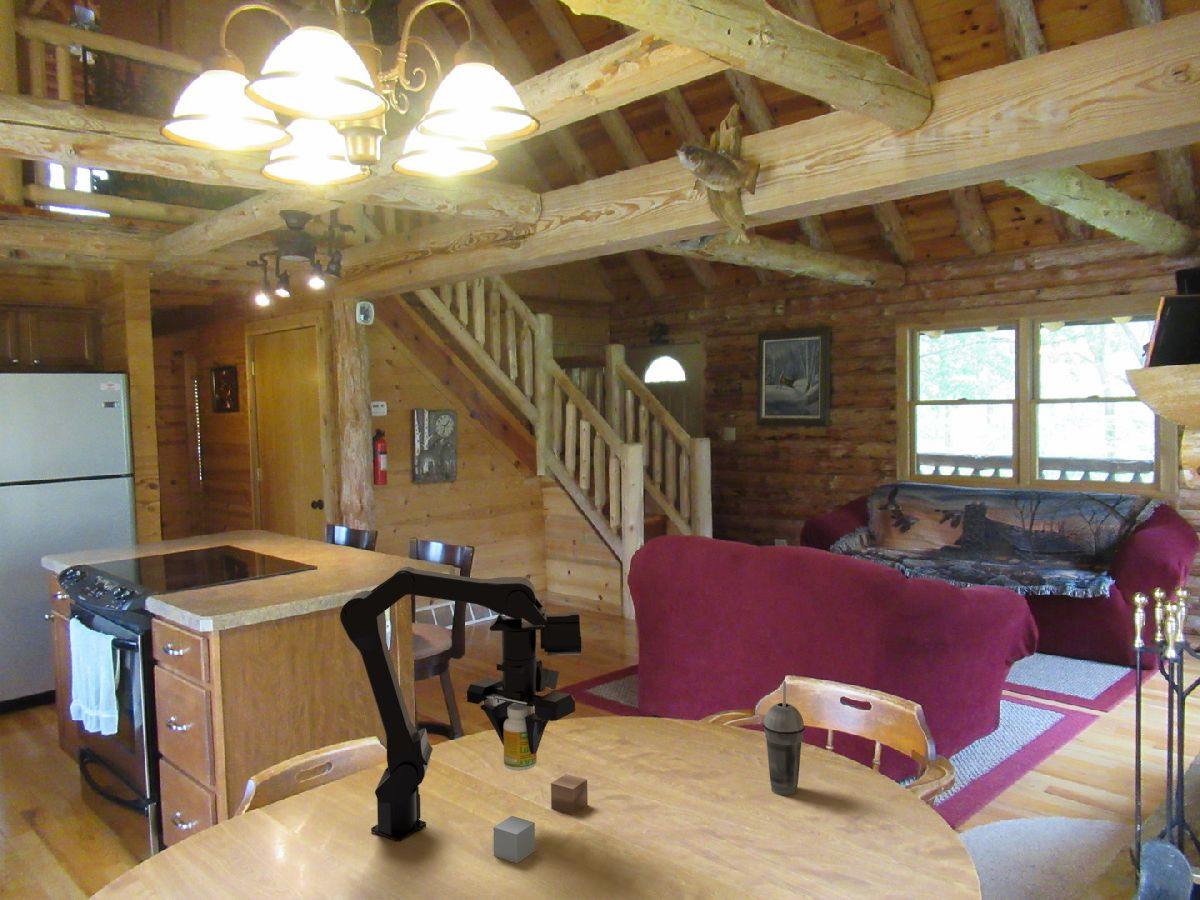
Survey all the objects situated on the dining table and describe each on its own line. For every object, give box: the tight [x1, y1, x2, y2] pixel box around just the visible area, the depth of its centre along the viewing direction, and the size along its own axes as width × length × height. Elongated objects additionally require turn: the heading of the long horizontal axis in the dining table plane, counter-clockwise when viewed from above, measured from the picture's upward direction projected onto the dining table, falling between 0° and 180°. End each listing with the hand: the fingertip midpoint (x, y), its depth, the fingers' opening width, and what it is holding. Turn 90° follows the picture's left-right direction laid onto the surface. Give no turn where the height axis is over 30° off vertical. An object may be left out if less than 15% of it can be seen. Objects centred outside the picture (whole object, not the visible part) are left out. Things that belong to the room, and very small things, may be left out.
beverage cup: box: [762, 680, 806, 797], centre depth 153 cm, size 7×7×20 cm
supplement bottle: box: [503, 703, 538, 772], centre depth 141 cm, size 5×5×10 cm
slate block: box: [492, 815, 536, 864], centre depth 132 cm, size 4×4×4 cm
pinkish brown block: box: [550, 773, 589, 816], centre depth 147 cm, size 4×4×4 cm
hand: (520, 749), depth 141 cm, fingers closed on supplement bottle, 5 cm apart
